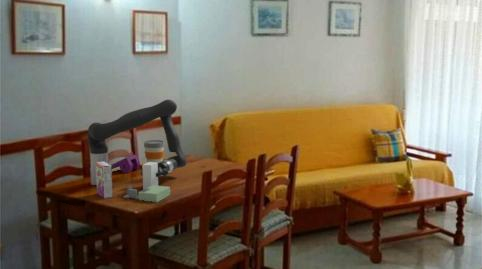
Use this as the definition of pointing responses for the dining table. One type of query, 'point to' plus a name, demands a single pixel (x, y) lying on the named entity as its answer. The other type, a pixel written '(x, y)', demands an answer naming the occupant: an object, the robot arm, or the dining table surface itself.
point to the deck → (148, 193)
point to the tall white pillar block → (150, 174)
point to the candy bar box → (104, 179)
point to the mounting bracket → (127, 164)
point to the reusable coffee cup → (154, 150)
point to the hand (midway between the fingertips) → (149, 174)
